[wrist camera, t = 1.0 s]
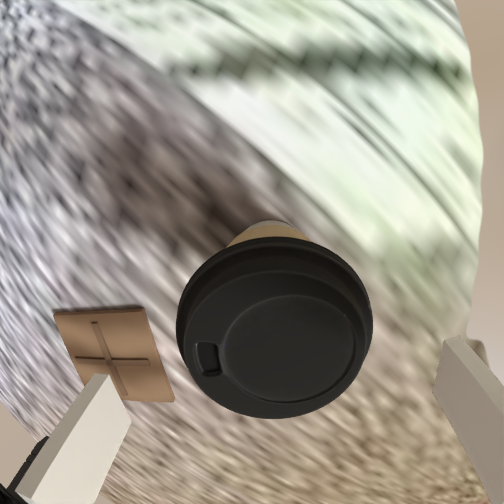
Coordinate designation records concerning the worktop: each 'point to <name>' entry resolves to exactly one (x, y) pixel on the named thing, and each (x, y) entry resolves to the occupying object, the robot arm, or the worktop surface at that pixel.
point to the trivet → (116, 351)
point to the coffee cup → (274, 324)
